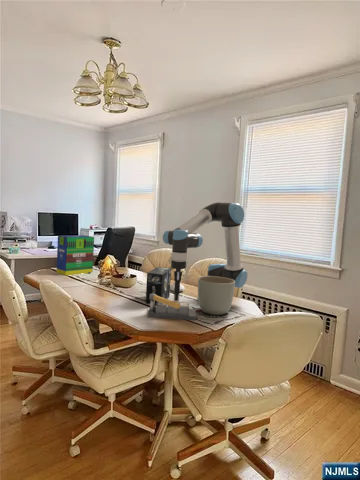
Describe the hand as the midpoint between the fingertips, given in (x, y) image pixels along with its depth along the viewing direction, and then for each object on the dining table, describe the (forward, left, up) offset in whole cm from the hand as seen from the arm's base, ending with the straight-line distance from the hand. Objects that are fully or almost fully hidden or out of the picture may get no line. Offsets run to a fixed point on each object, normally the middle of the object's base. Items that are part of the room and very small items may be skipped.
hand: (175, 306), depth 174 cm
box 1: (+83, -108, -8) cm, 136 cm away
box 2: (+11, -39, -8) cm, 41 cm away
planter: (-22, -20, -8) cm, 31 cm away
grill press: (+2, -10, -8) cm, 13 cm away
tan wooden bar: (+6, -3, 0) cm, 7 cm away
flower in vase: (0, -67, -8) cm, 68 cm away
